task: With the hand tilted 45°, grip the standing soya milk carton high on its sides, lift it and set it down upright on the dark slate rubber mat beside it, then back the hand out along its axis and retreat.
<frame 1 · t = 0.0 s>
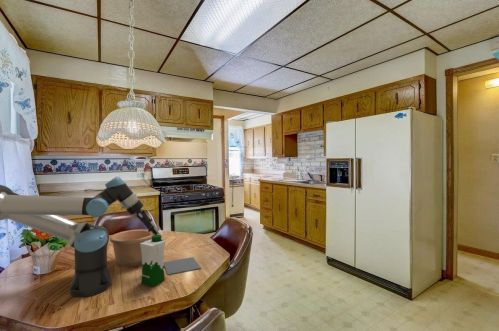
hand: (158, 235, 132), 15 cm above the table, tool tilted 35°, fingers open, 13 cm apart
pottery: (133, 261, 137), on the table
mat: (181, 265, 130), on the table
soya milk: (152, 282, 113), on the table
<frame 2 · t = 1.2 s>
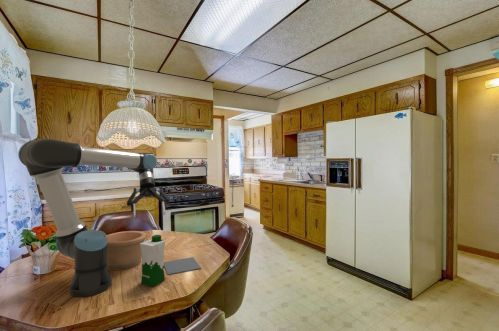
hand: (149, 214, 125), 28 cm above the table, tool tilted 45°, fingers open, 13 cm apart
pottery: (123, 263, 134), on the table
everything else where it was.
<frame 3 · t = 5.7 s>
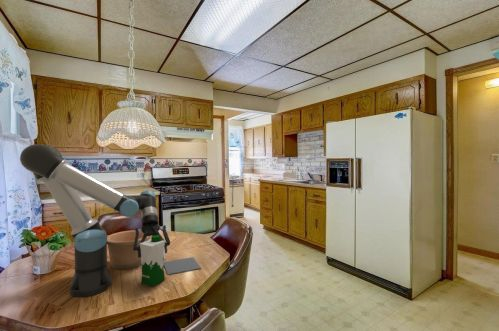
hand: (153, 261, 111), 10 cm above the table, tool tilted 45°, fingers closed on soya milk, 8 cm apart
pottery: (128, 263, 134), on the table, touching arm
soya milk: (152, 282, 113), on the table, touching gripper
when the fingers open (12 cm above the table, at t = 13.1 s): soya milk drops 1 cm, resting on mat.
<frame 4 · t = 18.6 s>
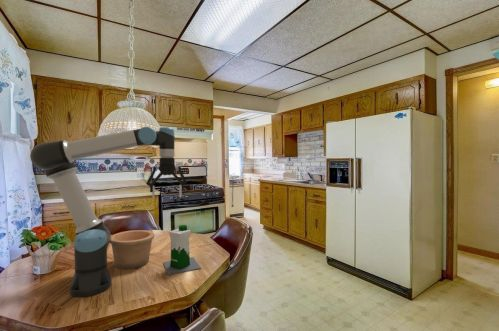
hand: (167, 198, 133), 35 cm above the table, tool pointing down, fingers open, 13 cm apart
pottery: (132, 262, 135), on the table, touching arm
soya milk: (180, 266, 129), resting on mat
at the end: soya milk inside the target area on the mat (1.1 cm from its centre), point 0.3 cm above the mat's base; soya milk tilted 0°; the gripper is holding nothing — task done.
